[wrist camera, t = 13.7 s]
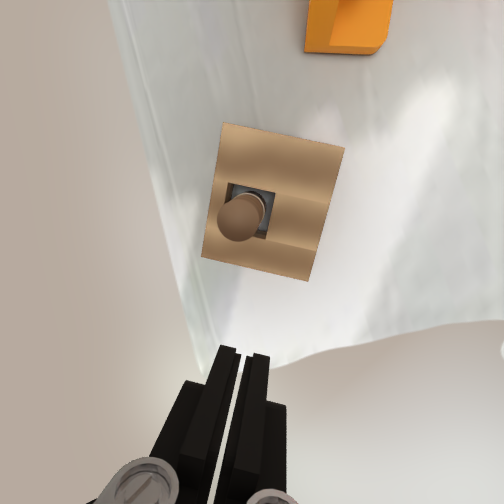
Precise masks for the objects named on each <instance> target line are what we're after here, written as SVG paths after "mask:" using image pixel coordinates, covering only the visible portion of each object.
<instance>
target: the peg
mask: <svg viewBox="0 0 504 504" xmlns="http://www.w3.org/2000/svg"><path fill="white" fill-rule="evenodd" d="M265 212H266V202H265V199H264V198H263V197H262V195H260V194H259V193H257V192H254V191H247V192H244V193H242V194H239V195H237V196H236V197H234V198H233V199H232V200H231V201H229V202H227V203H225V204H224V205H223V206H222V207H221V208H220V210H219V212H218V215H217V225H218V228H219V230H220V232H221V233H222V235H223V236H224V237H226V238H227V239H229V240H231V241H235V242H242V241H245V240H248V239H250V238H251V237H252V236H253V235H254V234H255V232H256V231H257V229H258V227H259V225H260V223H261V222H262V220H263V218H264V215H265Z"/></svg>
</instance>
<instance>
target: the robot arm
mask: <svg viewBox="0 0 504 504" xmlns="http://www.w3.org/2000/svg"><path fill="white" fill-rule="evenodd" d="M240 359H241V354H237V353H236V348H232V347H228V346H224V345H220V347H219V349H218V352H217V355H216V357H215V360H214V363H213V365H212V368H211V371H210V373H209V376H208V379H207V382H206V384H205V385H203V384H199V383H195V382H191V381H188V380H186V381H185V382H184V384H183V386H182V388H181V390H180V392H179V395H178V396H177V399H176V401H175V403H174V405H173V407H172V409H171V411H170V413H169V415H168V417H167V420H166V422H165V424H164V426H163V428H162V430H161V432H160V434H159V437H158V438H157V440H156V443H155V445H154V447H153V449H152V451H151V453H150V455H149V457H142V458H139V459H136V460H133V461H131V462H129V463H128V464H126V465H124V466H123V467H122V468H121V469H120V470H119V471H118V472H117V473H116V474H115V475H114V476H113V478H112V479H111V481H110V482H109V483H108V485H107V486H106V487H105V489H104V490H103V491H102V493H101V494H100V495H99V497H98V498H97V499H94V500H92V501H90V502H89V503H86V504H207V501H208V497H209V492H210V488H211V484H212V480H213V476H214V471H215V467H216V462H217V459H218V455H219V450H220V446H221V442H222V438H223V434H224V429H225V425H226V421H227V416H228V412H229V407H230V403H231V399H232V394H233V390H234V385H235V381H236V377H237V372H238V368H239V363H240ZM269 363H270V357H269V356H265V355H261V354H257V353H254V354H253V357H250V356H246V360H245V365H244V369H243V373H242V378H241V382H240V386H239V391H238V395H237V399H236V404H235V408H234V412H233V417H232V421H231V425H230V430H229V434H228V439H227V443H226V448H225V453H224V457H223V462H222V466H221V471H220V475H219V480H218V485H217V489H216V494H215V499H214V503H213V504H298V503H297V502H296V501H295V500H294V499H293V498H292V497H291V496H289V495H287V494H286V406H285V405H282V404H278V403H275V402H271V401H267V400H266V398H267V385H268V375H269Z"/></svg>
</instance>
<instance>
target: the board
mask: <svg viewBox="0 0 504 504" xmlns="http://www.w3.org/2000/svg"><path fill="white" fill-rule="evenodd" d="M344 150H345V148H344V147H339V146H335V145H330V144H325V143H320V142H315V141H311V140H306V139H301V138H296V137H291V136H287V135H282V134H277V133H272V132H267V131H263V130H258V129H253V128H248V127H243V126H239V125H234V124H229V123H224V122H223V126H222V132H221V138H220V144H219V150H218V156H217V162H216V168H215V174H214V181H213V187H212V193H211V199H210V205H209V211H208V217H207V223H206V229H205V235H204V241H203V247H202V254H201V257H204V258H208V259H212V260H217V261H221V262H225V263H230V264H234V265H238V266H243V267H247V268H251V269H256V270H260V271H264V272H268V273H273V274H277V275H281V276H286V277H290V278H294V279H299V280H303V281H307V282H308V280H309V277H310V273H311V269H312V266H313V262H314V259H315V255H316V251H317V248H318V244H319V241H320V237H321V233H322V230H323V226H324V223H325V219H326V215H327V212H328V208H329V205H330V201H331V197H332V194H333V190H334V186H335V183H336V179H337V176H338V172H339V168H340V165H341V161H342V158H343V154H344ZM234 184H238V185H243V186H247V187H252V188H256V189H261V190H266V191H270V192H275V193H276V195H275V199H274V203H273V208H272V212H271V217H270V221H269V226H268V230H267V232H265V231H261V230H257V231H256V232H255V234H254V235H253V236H252V237H251V238H250V239H248V240H245V241H242V242H235V241H231V240H229V239H227V238H226V237H224V236H223V235H222V233H221V232H220V230H219V228H218V225H217V215H218V212H219V210H220V208H221V207H222V206H223V205H224V204H225V203H227V202H229V201H231V196H232V191H233V186H234Z"/></svg>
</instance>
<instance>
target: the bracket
mask: <svg viewBox="0 0 504 504" xmlns="http://www.w3.org/2000/svg"><path fill="white" fill-rule="evenodd" d="M392 5H393V0H309V8H308V18H307V29H306V39H305V49H304V52H320V53H345V54H373V53H375V52H376V51H377V50H378V49H379V48H380V47H381V45H382V44H383V43H384V42H385V40H386V38H387V35H388V29H389V23H390V17H391V11H392Z"/></svg>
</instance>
